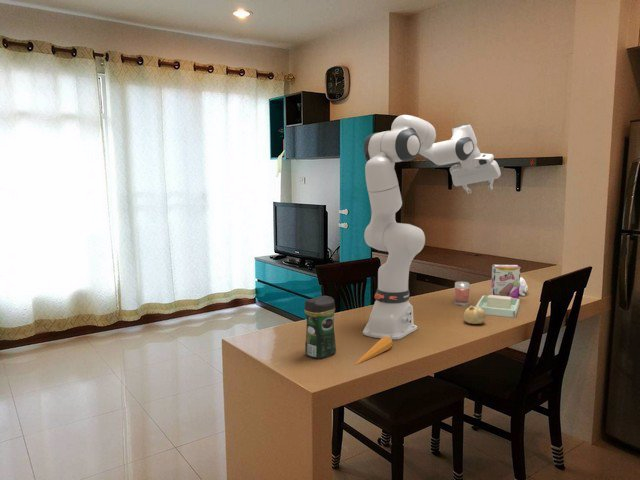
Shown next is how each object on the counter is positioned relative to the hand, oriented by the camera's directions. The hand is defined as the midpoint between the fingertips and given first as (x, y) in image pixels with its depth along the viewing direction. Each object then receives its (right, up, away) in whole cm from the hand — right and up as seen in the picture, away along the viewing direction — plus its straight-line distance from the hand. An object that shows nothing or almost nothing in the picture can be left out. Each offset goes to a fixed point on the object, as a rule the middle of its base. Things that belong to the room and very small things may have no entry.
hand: (480, 191), depth 213 cm
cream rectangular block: (+7, -49, -4) cm, 49 cm away
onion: (-10, -53, -24) cm, 59 cm away
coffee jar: (-69, -58, -55) cm, 105 cm away
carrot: (-53, -58, -56) cm, 96 cm away
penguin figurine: (+26, -46, +20) cm, 57 cm away
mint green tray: (+5, -50, -8) cm, 51 cm away
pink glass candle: (-8, -49, 0) cm, 50 cm away
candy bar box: (+13, -49, +6) cm, 50 cm away
